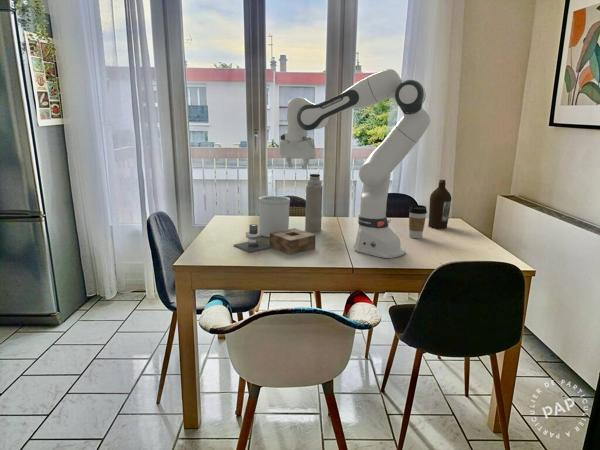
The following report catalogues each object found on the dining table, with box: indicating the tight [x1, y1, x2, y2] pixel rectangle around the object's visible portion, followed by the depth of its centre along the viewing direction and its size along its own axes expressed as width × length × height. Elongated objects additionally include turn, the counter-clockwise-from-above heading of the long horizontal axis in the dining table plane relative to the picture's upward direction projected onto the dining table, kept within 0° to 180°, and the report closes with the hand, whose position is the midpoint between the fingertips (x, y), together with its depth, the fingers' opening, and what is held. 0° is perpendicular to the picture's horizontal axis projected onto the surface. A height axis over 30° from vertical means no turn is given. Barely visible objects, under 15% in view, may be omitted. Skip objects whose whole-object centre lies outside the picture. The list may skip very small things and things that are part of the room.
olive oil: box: [427, 179, 452, 230], centre depth 223 cm, size 11×11×25 cm
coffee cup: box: [408, 204, 428, 239], centre depth 205 cm, size 8×8×15 cm
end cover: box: [245, 223, 262, 247], centre depth 185 cm, size 6×6×9 cm
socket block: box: [269, 227, 317, 255], centre depth 185 cm, size 14×14×6 cm
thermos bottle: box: [304, 173, 324, 233], centre depth 212 cm, size 8×8×28 cm
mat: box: [233, 240, 274, 254], centre depth 186 cm, size 12×12×1 cm
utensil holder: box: [258, 195, 291, 238], centre depth 204 cm, size 15×15×18 cm
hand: (297, 168), depth 191 cm, fingers open, 8 cm apart
